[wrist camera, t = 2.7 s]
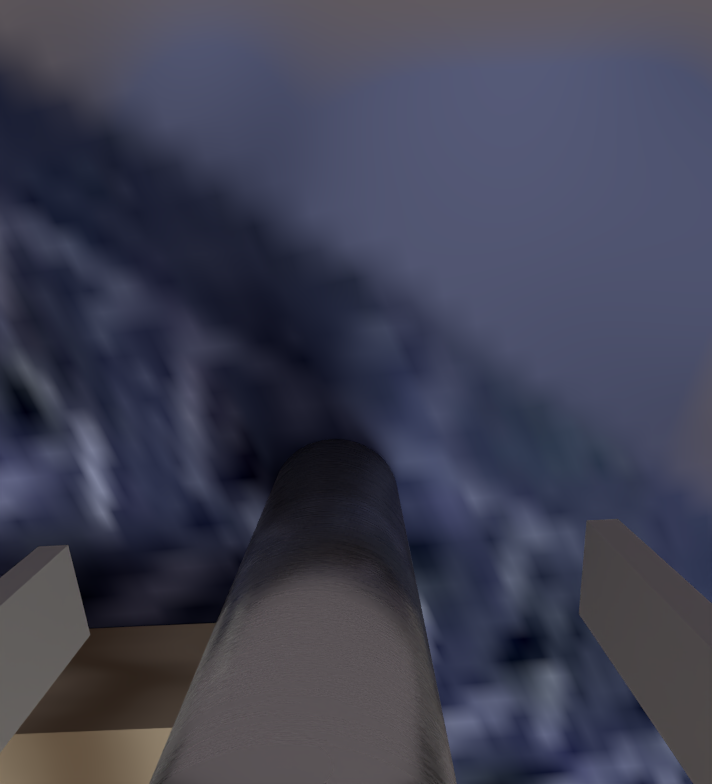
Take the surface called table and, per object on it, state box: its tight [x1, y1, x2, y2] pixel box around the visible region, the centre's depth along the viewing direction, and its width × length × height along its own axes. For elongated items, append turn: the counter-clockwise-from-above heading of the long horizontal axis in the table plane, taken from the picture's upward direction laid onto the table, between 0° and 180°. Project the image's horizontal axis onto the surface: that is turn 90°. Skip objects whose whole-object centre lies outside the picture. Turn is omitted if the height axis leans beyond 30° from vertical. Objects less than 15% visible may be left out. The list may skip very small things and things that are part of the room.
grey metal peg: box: [149, 439, 457, 784], centre depth 10 cm, size 4×4×10 cm
